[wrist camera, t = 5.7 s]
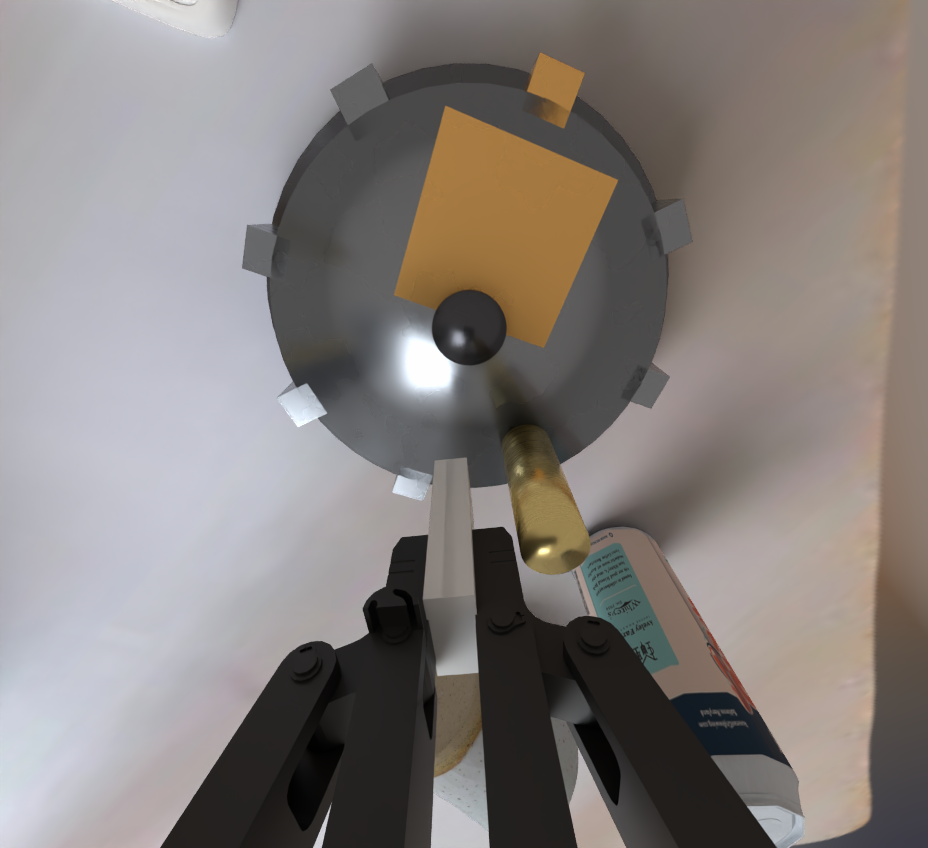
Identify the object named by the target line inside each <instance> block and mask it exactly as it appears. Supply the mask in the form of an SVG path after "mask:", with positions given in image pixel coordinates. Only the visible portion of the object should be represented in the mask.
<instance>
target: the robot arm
mask: <svg viewBox="0 0 928 848" xmlns="http://www.w3.org/2000/svg"><path fill="white" fill-rule="evenodd" d="M363 612H364V616H365V619H366V623H367V627H368V630H369V633H368V634H367V635H366V636H364V637H363V638H361V639H360V640H358V641H355V642H353V643H351V644H348V645H346V646H343V647H341V648H338V649H335V650H334V649H333V648H332V646H331V645H330V644H328V643H325V642H323V641H314V642H309V643H306V644H303V645H301V646H299V647H298V648H296V649H295V650H293V651H292V652H290V653H289V654H288V656H287V657H286V658H285V659H284V660H283V661H282V663H281V664H280V666H279V667H278V669H277V670H276V672H275V673H274V675H273V676H272V678H271V679H270V681H269V682H268V684H267V685H266V687H265V689H264V690H263V692H262V693H261V695H260V696H259V698H258V699H257V701H256V702H255V704H254V705H253V707H252V708H251V710H250V711H249V713H248V714H247V716H246V718H245V719H244V721H243V722H242V724H241V725H240V727H239V728H238V730H237V731H236V733H235V734H234V736H233V737H232V739H231V740H230V742H229V743H228V745H227V747H226V748H225V750H224V751H223V753H222V754H221V756H220V757H219V759H218V760H217V762H216V763H215V765H214V766H213V768H212V769H211V771H210V773H209V774H208V776H207V777H206V779H205V780H204V782H203V783H202V785H201V786H200V788H199V789H198V791H197V792H196V794H195V795H194V797H193V798H192V800H191V802H190V803H189V805H188V806H187V808H186V809H185V811H184V812H183V814H182V815H181V817H180V818H179V820H178V821H177V823H176V824H175V826H174V827H173V829H172V831H171V832H170V834H169V835H168V837H167V838H166V840H165V841H164V843H163V844H162V846H161V847H160V848H313V846H314V844H315V841H316V839H317V837H318V834H319V832H320V829H321V827H322V824H323V822H324V820H325V817H326V815H327V812H328V810H329V808H330V805H331V809H330V813H329V818H328V822H327V827H326V832H325V836H324V841H323V845H322V848H431V829H432V807H433V786H434V764H435V742H436V721H437V692H436V686H435V673H436V671H437V676H444V675H458V674H470V673H479V688H480V704H481V719H482V735H483V750H484V766H485V781H486V797H487V812H488V828H489V844H490V848H577V843H576V838H575V833H574V829H573V824H572V819H571V814H570V809H569V804H568V799H567V795H566V790H565V785H564V780H563V775H562V770H561V765H560V761H559V756H558V751H557V746H556V741H555V736H554V731H553V727H552V722H551V717H552V718H556V719H560V720H563V721H566V723H567V725H568V727H569V729H570V731H571V733H572V735H573V737H574V739H575V742H576V744H577V746H578V748H579V750H580V752H581V754H582V756H583V758H584V760H585V762H586V764H587V767H588V769H589V771H590V773H591V775H592V777H593V779H594V781H595V783H596V785H597V787H598V789H599V792H600V794H601V796H602V798H603V800H604V802H605V804H606V806H607V808H608V810H609V812H610V814H611V817H612V819H613V821H614V823H615V825H616V827H617V829H618V831H619V833H620V835H621V837H622V840H623V842H624V844H625V846H626V848H777V847H776V845H775V844H774V843H773V841H772V840H771V839H770V837H769V836H768V834H767V833H766V832H765V830H764V829H763V828H762V826H761V825H760V823H759V822H758V821H757V819H756V818H755V817H754V815H753V814H752V812H751V811H750V810H749V808H748V807H747V806H746V804H745V803H744V801H743V800H742V799H741V797H740V796H739V795H738V793H737V792H736V790H735V789H734V788H733V786H732V785H731V784H730V782H729V781H728V780H727V778H726V777H725V775H724V774H723V773H722V771H721V770H720V769H719V767H718V766H717V764H716V763H715V762H714V760H713V759H712V758H711V756H710V755H709V753H708V752H707V751H706V749H705V748H704V747H703V745H702V744H701V742H700V741H699V740H698V738H697V737H696V736H695V734H694V733H693V731H692V730H691V729H690V727H689V726H688V725H687V723H686V722H685V720H684V719H683V718H682V716H681V715H680V714H679V712H678V711H677V710H676V708H675V707H674V705H673V704H672V703H671V701H670V700H669V699H668V697H667V696H666V694H665V693H664V692H663V690H662V689H661V688H660V686H659V685H658V683H657V682H656V681H655V679H654V678H653V677H652V675H651V674H650V672H649V671H648V670H647V668H646V667H645V666H644V664H643V663H642V661H641V660H640V659H639V657H638V656H637V655H636V653H635V652H634V650H633V649H632V648H631V646H630V645H629V644H628V642H627V641H626V640H625V638H624V637H623V635H622V634H621V633H620V631H619V630H618V629H617V628H616V627H615V626H614V625H613V624H612V623H610V622H608V621H606V620H604V619H602V618H599V617H594V616H583V617H578V618H576V619H574V620H572V621H571V622H569V624H568V625H567V627H564V626H559V625H554V624H550V623H547V622H544V621H542V620H540V619H538V618H536V617H535V616H534V615H533V614H532V613H531V612H530V611H529V610H528V608H527V607H526V605H525V602H524V599H523V593H522V588H521V583H520V577H519V572H518V567H517V562H516V556H515V552H514V546H513V540H512V537H511V535H510V534H509V533H508V532H507V531H506V529H505V528H504V527H496V528H485V529H475V530H474V519H473V509H472V500H471V491H470V482H469V473H468V465H467V457H466V458H456V459H445V460H435V463H434V475H433V486H432V498H431V510H430V521H429V533H428V535H421V536H411V537H402V538H401V539H400V540H399V542H398V543H397V544H396V546H395V547H394V549H393V552H392V557H391V564H390V568H389V575H388V578H387V584H386V587H384V588H382V589H380V590H378V591H376V592H375V593H373V594H372V595H371V596H370V597H369V598H368V599H367V601H366V603H365V605H364V607H363ZM331 803H332V804H331Z"/></svg>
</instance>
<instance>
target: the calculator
mask: <svg viewBox="0 0 928 848" xmlns="http://www.w3.org/2000/svg"><path fill="white" fill-rule="evenodd" d="M111 1H113V2H116V3H118V4H120V5H123V6H125V7H127V8H130V9H132V10H134V11H137V12H139V13H141V14H144V15H146V16H148V17H151V18H153V19H156V20H158V21H160V22H163V23H165V24H167V25H170V26H172V27H175V28H178V29H181V30H183V31H186V32H189V33H192V34H194V35H198V36H203V37H208V38H216V37H221V36H224V35H225V34H226V33H227V31H228V30H229V29H230V28H231V26H232V23H233V19H234V16H235V13H236V9H237V2H238V0H111Z"/></svg>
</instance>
